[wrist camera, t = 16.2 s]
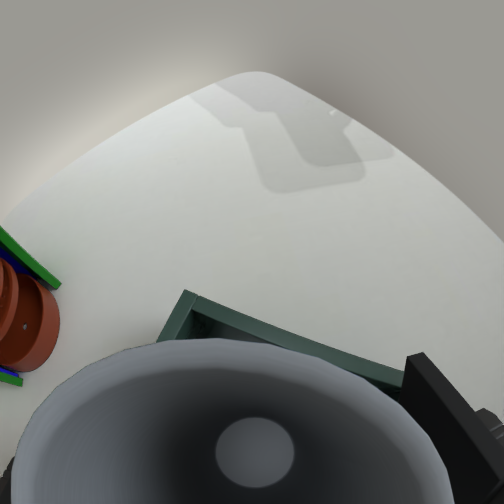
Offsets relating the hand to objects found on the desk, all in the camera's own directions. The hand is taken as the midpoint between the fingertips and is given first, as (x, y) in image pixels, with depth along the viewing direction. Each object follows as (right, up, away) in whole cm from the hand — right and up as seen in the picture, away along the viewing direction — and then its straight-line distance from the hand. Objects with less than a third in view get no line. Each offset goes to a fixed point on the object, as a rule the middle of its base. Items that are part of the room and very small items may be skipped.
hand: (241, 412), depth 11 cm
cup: (+1, -6, +5) cm, 7 cm away
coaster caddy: (-19, 0, +10) cm, 21 cm away
